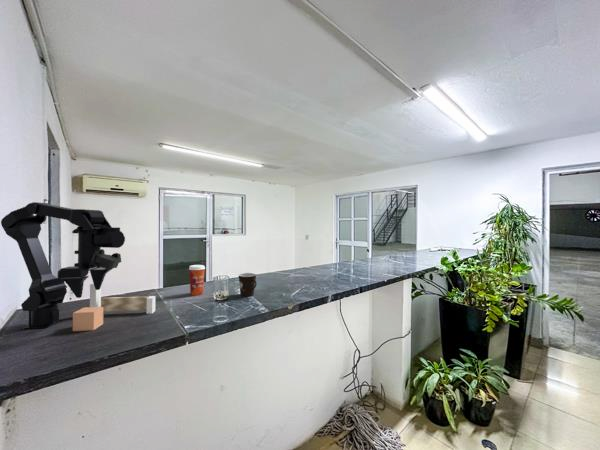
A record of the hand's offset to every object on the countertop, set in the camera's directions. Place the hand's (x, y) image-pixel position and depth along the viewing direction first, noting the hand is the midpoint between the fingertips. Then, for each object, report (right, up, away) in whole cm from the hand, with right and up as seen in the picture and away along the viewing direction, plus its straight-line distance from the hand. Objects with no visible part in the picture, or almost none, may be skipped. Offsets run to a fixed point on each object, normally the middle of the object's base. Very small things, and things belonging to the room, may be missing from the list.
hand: (88, 293), depth 82 cm
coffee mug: (+45, -12, +38) cm, 60 cm away
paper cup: (+19, -12, +40) cm, 46 cm away
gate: (+3, -10, +13) cm, 17 cm away
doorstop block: (0, -12, 0) cm, 12 cm away
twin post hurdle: (+2, -11, +13) cm, 17 cm away
